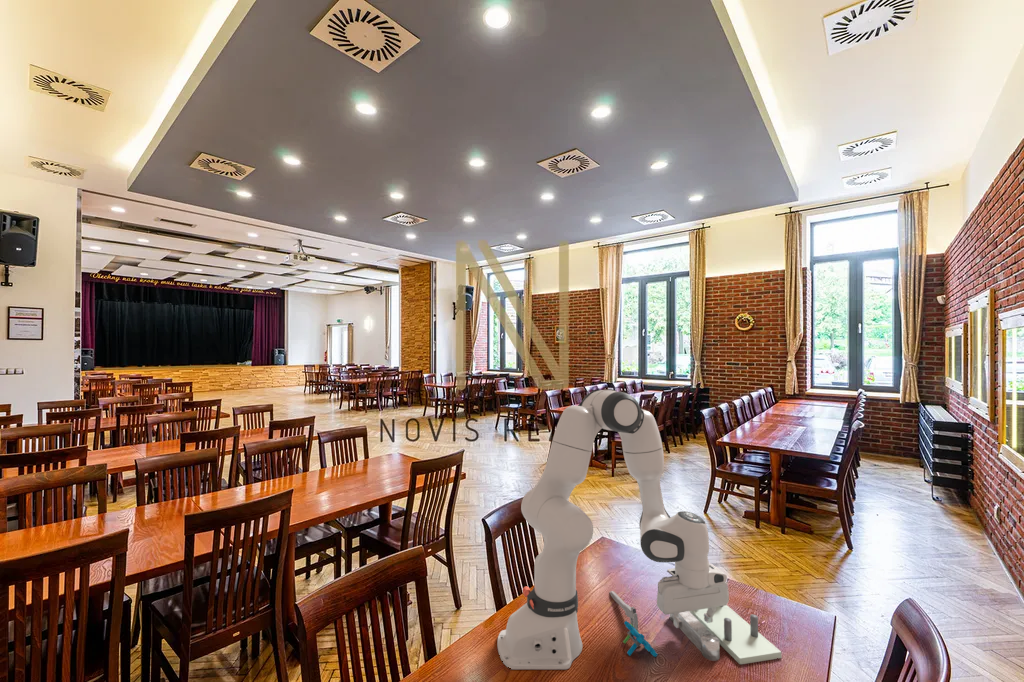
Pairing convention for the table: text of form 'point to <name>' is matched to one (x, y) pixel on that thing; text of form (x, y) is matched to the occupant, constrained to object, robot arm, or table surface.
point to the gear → (637, 640)
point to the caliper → (627, 610)
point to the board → (738, 635)
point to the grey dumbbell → (699, 636)
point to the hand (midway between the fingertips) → (693, 624)
